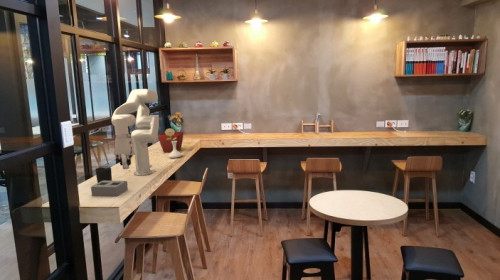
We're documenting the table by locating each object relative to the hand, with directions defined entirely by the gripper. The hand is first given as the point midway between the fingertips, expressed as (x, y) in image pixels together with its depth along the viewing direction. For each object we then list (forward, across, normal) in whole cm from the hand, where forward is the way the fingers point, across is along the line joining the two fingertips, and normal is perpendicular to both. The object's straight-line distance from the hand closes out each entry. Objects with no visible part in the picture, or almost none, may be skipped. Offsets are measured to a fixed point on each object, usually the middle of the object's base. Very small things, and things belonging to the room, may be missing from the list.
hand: (125, 164), depth 213 cm
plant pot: (+17, +10, -100) cm, 102 cm away
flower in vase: (+16, -1, -76) cm, 77 cm away
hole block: (+13, +4, +14) cm, 20 cm away
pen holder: (+14, +18, -3) cm, 23 cm away
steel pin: (+2, 0, 0) cm, 2 cm away
